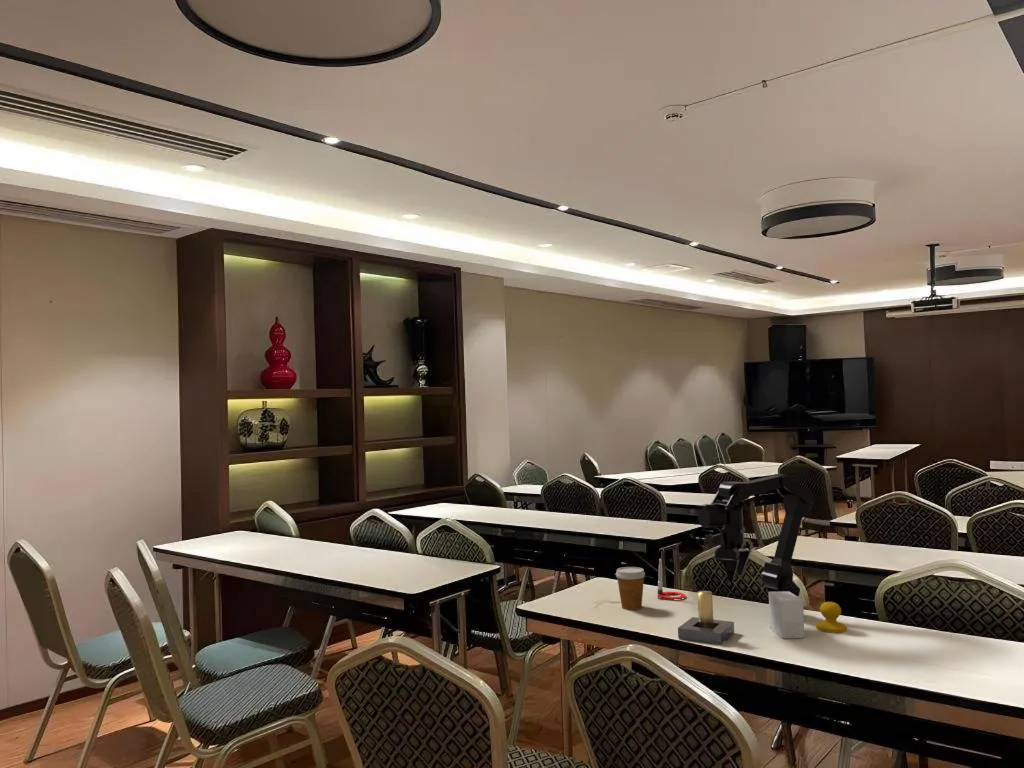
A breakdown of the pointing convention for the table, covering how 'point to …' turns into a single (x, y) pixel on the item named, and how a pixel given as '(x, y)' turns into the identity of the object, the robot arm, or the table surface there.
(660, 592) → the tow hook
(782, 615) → the skincare box
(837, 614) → the doorknob
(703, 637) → the block
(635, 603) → the disposable coffee cup
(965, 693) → the table surface
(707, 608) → the brass pin
